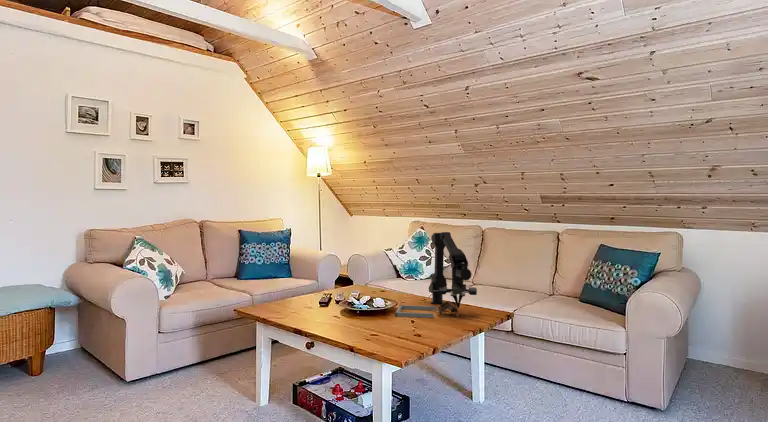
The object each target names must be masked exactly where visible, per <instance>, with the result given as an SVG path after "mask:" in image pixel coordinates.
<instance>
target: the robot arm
mask: <svg viewBox="0 0 768 422" xmlns="http://www.w3.org/2000/svg"><path fill="white" fill-rule="evenodd" d="M430 238H431V243H432V244H431V245H432V246H433V247H434V274H433V276H432V277H431V281H430V284H429V285H428V292H429V293H431V294H432V296H431V298H432V299H431V302H430V304H432V305H441V304H443V303H445V302H444V300H443V296H444V295H447V293H450V297H452V298H453V299H454V302H455V303H456V308H457V309H460V305H461V301H462V299H463V297H466V294H469V295H470V296H477V295H478V291H477V290H478V289H477V287H472V286H471V287H468V288H467V284H464V281H468V280H470V279H471V277H472V271H471V270H470V269H469V268H468V267H469V261H468V259H467V256H466V253H464V252H463V250H462V249H460V248H458V246H457V244H456V243H455V241H454V239H453V237H452V235H451V232H449V231H442V232H434V233H432V235H431V237H430ZM445 248H446V250H447V252H448V254H449V255H448V259H449V260H448V261H449V263H450V267H451V288H448V283H447V278H446V277H445V275H444V257H445V255H444V254H445V253H444V250H445Z"/></svg>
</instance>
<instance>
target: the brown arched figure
mask: <svg viewBox="0 0 768 422" xmlns="http://www.w3.org/2000/svg"><path fill="white" fill-rule="evenodd" d="M437 310H438V314H439V315H441V316H442V314H443V313H445V314H446V313H447V310H449V311H450V312H451V313H455V317H456V318H458V317H459V316H460V313H459V309H458V308H457V305H456V302H455V301H450V300H446V301H445V302H443V304H439V306H438V307H437Z"/></svg>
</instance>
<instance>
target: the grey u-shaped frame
mask: <svg viewBox="0 0 768 422" xmlns="http://www.w3.org/2000/svg"><path fill="white" fill-rule="evenodd" d="M403 310H405V311H406V310H408V311H411V310H412V311H433V312H435V311H437V306H436V305H433V306H432V305H411V304H410V305H408V304H405V305H404V304H403V305H402V304H400V305H399V306H398V308H396V310H395V312H394V317H395V318H396V317H397V318H399V317H400V318H426V319H427V318H428V319H434V316H435V315H434V313H433V312H428V313H427V312H404V311H403ZM402 311H403V312H402Z"/></svg>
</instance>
